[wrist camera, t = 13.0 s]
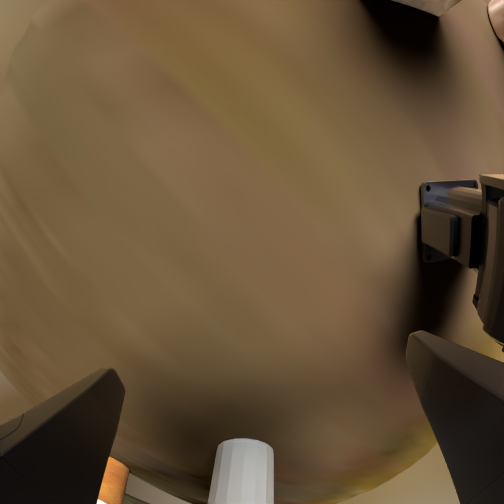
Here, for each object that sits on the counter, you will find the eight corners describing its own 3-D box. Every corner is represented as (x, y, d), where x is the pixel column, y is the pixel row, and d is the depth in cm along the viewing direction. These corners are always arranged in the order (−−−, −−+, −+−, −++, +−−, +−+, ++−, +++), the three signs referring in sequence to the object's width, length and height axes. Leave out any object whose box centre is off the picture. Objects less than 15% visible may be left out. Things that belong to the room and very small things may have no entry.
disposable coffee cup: (131, 461, 31) (111, 514, 19) (142, 481, 33) (126, 527, 22) (84, 442, 31) (59, 489, 19) (99, 465, 34) (80, 507, 22)
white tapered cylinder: (269, 436, 26) (268, 529, 14) (275, 462, 28) (275, 539, 16) (211, 438, 26) (194, 525, 14) (224, 463, 28) (213, 538, 16)
